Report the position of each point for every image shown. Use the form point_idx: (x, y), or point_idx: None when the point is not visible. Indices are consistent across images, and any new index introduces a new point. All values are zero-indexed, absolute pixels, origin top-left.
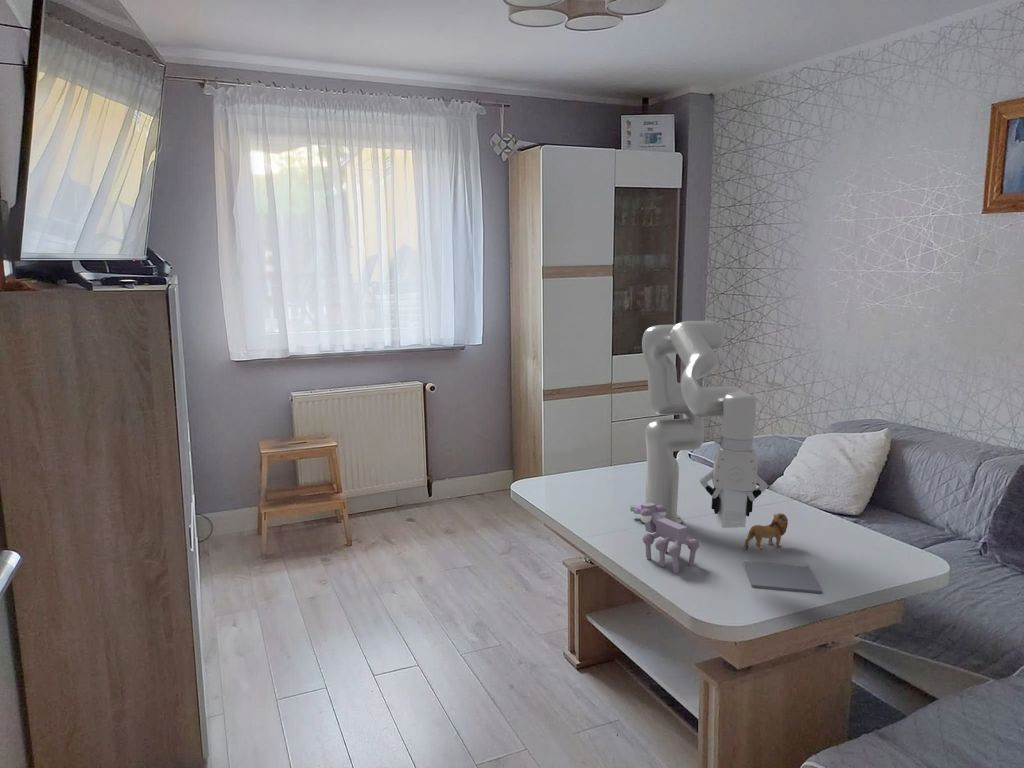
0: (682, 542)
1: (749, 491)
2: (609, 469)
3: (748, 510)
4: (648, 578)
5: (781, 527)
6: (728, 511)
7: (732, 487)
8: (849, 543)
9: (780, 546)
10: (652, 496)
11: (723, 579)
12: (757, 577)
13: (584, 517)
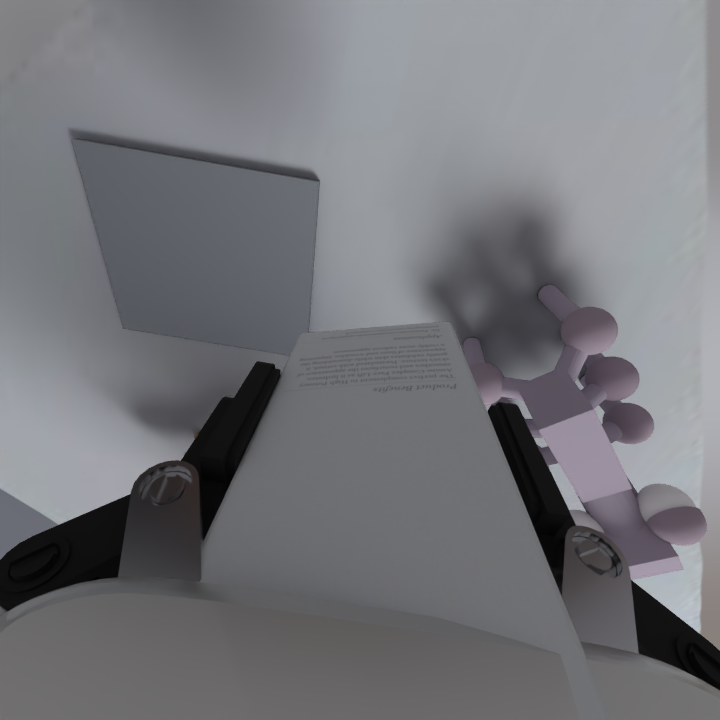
0: (540, 378)
1: (129, 582)
2: None
3: (250, 390)
4: (678, 240)
5: None
6: (430, 388)
7: (455, 710)
8: (38, 451)
9: (195, 437)
10: None
11: (402, 242)
12: (285, 246)
13: None
